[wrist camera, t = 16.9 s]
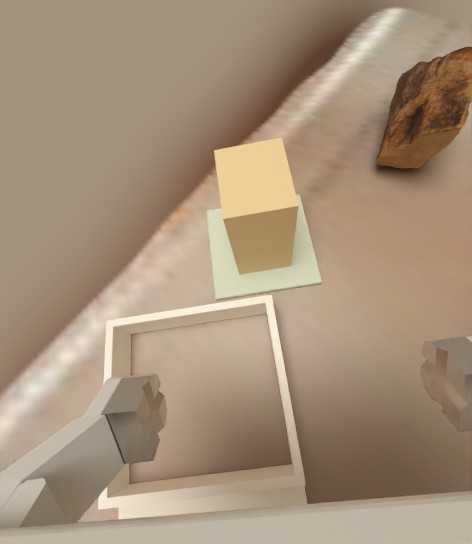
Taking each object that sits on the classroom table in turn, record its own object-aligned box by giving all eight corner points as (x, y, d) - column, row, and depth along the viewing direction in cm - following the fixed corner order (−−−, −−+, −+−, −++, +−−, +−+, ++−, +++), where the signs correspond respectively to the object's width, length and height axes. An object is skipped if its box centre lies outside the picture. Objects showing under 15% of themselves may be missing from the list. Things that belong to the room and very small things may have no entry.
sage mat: (299, 197, 32) (299, 194, 32) (321, 283, 28) (321, 282, 28) (207, 213, 33) (206, 210, 32) (216, 300, 29) (215, 298, 28)
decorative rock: (421, 196, 30) (492, 100, 20) (361, 180, 32) (400, 84, 22) (444, 112, 34) (514, -4, 24) (388, 102, 36) (433, -11, 26)
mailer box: (271, 306, 28) (271, 294, 25) (348, 735, 18) (365, 812, 14) (125, 329, 29) (106, 320, 26) (117, 750, 18) (83, 825, 15)
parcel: (279, 213, 31) (281, 137, 22) (291, 266, 29) (298, 205, 19) (231, 222, 31) (214, 150, 22) (239, 274, 29) (222, 219, 20)
